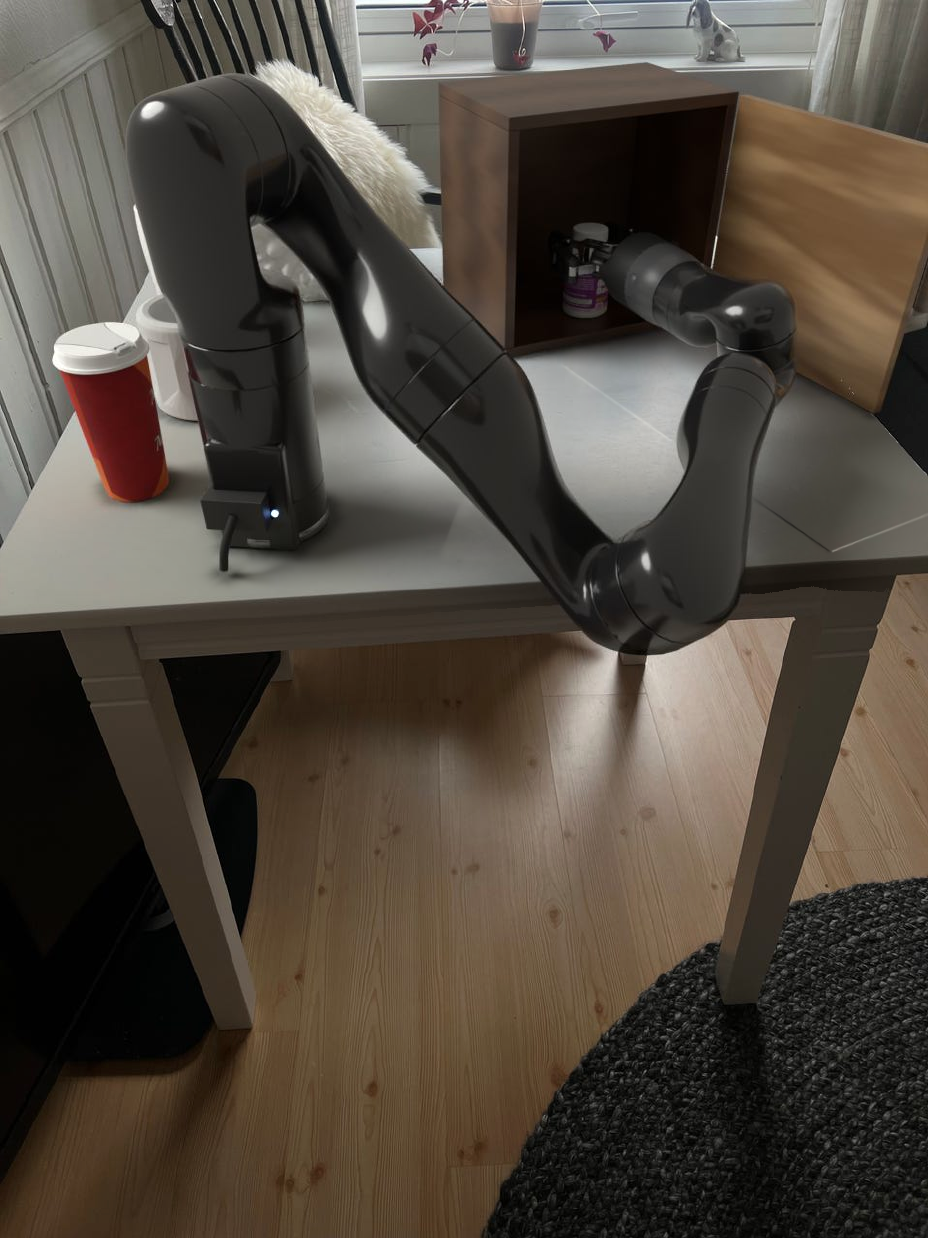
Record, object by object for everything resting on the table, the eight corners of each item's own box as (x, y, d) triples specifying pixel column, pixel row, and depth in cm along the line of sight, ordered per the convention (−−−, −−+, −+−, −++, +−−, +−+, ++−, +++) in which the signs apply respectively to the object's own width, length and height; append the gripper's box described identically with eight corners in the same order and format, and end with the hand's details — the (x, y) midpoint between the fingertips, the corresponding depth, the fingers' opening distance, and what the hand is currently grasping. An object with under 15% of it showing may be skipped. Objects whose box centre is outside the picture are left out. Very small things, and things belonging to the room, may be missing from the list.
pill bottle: (605, 321, 109) (612, 236, 103) (559, 318, 110) (564, 233, 104) (608, 303, 113) (616, 221, 107) (565, 300, 114) (570, 218, 108)
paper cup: (198, 477, 86) (165, 331, 77) (135, 517, 81) (92, 366, 72) (139, 455, 89) (101, 312, 80) (74, 492, 84) (26, 344, 75)
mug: (282, 396, 98) (268, 303, 92) (196, 434, 92) (175, 336, 86) (207, 359, 105) (189, 270, 99) (122, 392, 99) (98, 299, 93)
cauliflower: (419, 226, 112) (264, 141, 101) (346, 374, 120) (196, 309, 109) (381, 191, 126) (243, 113, 116) (319, 325, 134) (184, 263, 124)
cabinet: (702, 319, 112) (739, 91, 97) (504, 359, 105) (509, 117, 89) (625, 270, 125) (646, 61, 109) (443, 302, 117) (438, 82, 102)
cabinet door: (747, 310, 114) (789, 87, 98) (921, 398, 96) (1006, 142, 81) (703, 321, 112) (739, 94, 96) (873, 413, 94) (952, 153, 78)
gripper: (594, 328, 97) (523, 276, 109) (711, 305, 101) (630, 257, 113) (599, 255, 92) (524, 209, 104) (721, 233, 96) (636, 191, 108)
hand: (580, 234), depth 108 cm, fingers open, 6 cm apart
